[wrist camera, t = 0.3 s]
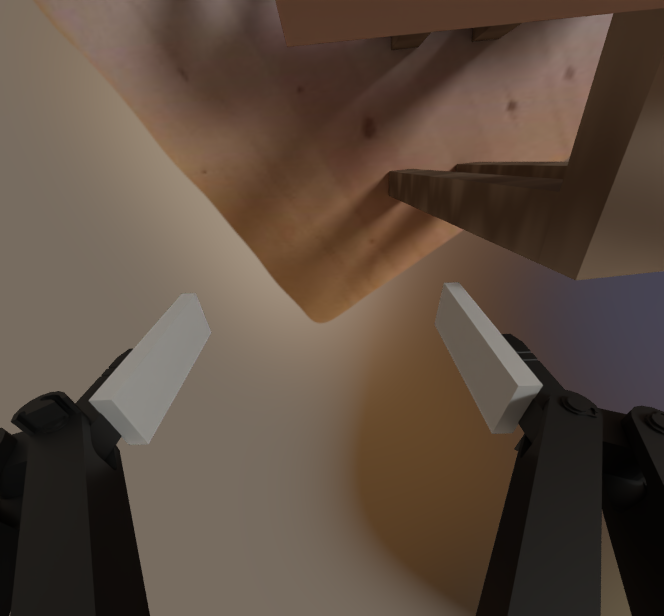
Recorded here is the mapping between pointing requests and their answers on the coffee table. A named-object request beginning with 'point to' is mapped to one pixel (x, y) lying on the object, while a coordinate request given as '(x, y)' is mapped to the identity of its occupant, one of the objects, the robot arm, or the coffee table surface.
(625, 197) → the walnut table
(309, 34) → the terracotta T
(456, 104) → the coffee table surface
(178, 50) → the coffee table surface
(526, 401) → the robot arm
